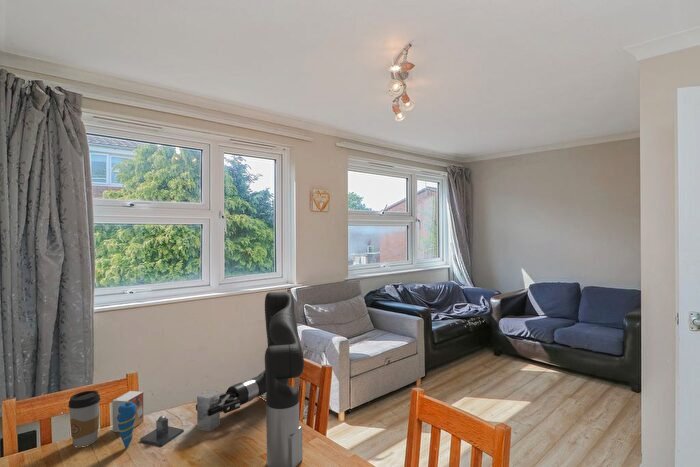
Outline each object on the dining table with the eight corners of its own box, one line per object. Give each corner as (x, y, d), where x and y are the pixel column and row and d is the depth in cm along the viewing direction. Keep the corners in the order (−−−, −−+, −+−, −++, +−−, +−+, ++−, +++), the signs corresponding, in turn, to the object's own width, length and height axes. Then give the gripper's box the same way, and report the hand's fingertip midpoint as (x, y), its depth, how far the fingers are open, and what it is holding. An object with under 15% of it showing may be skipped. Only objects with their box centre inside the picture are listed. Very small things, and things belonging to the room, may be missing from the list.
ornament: (119, 445, 120) (118, 397, 120) (138, 441, 122) (137, 394, 121) (116, 454, 115) (115, 404, 115) (135, 450, 117) (134, 401, 116)
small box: (126, 433, 127) (126, 401, 127) (112, 431, 128) (111, 400, 128) (144, 421, 135) (143, 391, 134) (130, 420, 136) (129, 390, 136)
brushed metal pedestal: (219, 424, 132) (219, 392, 132) (209, 431, 127) (209, 398, 127) (208, 422, 134) (207, 390, 134) (197, 429, 129) (197, 396, 129)
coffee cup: (62, 447, 119) (61, 399, 118) (87, 434, 127) (86, 388, 126) (82, 452, 116) (81, 402, 116) (107, 437, 124) (106, 391, 124)
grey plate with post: (183, 433, 127) (183, 411, 127) (162, 447, 119) (161, 425, 119) (162, 428, 130) (162, 407, 130) (139, 442, 122) (139, 420, 122)
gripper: (230, 378, 146) (189, 394, 132) (255, 387, 138) (215, 404, 124) (230, 398, 146) (189, 415, 133) (256, 407, 138) (215, 427, 124)
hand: (202, 410), depth 128 cm, fingers closed on brushed metal pedestal, 6 cm apart
